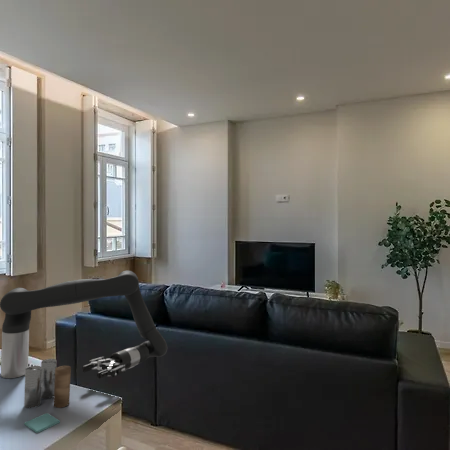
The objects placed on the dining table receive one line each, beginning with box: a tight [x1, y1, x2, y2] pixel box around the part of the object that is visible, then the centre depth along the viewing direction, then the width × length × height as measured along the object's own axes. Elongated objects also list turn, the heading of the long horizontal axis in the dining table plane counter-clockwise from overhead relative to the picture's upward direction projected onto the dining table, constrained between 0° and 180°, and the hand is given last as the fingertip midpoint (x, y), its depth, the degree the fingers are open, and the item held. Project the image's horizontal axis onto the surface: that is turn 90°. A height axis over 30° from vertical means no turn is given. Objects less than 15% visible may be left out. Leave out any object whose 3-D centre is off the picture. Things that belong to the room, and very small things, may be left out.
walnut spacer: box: [53, 365, 72, 409], centre depth 122 cm, size 5×5×12 cm
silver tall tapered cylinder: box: [23, 365, 42, 409], centre depth 121 cm, size 5×5×12 cm
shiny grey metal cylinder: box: [40, 358, 58, 400], centre depth 127 cm, size 5×5×12 cm
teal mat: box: [24, 412, 61, 434], centre depth 111 cm, size 7×7×1 cm
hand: (90, 372), depth 131 cm, fingers open, 8 cm apart
